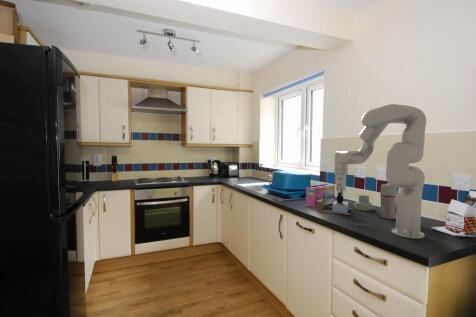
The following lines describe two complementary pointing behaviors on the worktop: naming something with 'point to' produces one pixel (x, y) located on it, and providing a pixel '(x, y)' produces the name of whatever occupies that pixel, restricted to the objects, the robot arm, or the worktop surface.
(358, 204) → the air freshener
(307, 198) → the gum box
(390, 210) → the spray can
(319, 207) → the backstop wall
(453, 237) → the worktop surface
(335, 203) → the block
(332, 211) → the track board
